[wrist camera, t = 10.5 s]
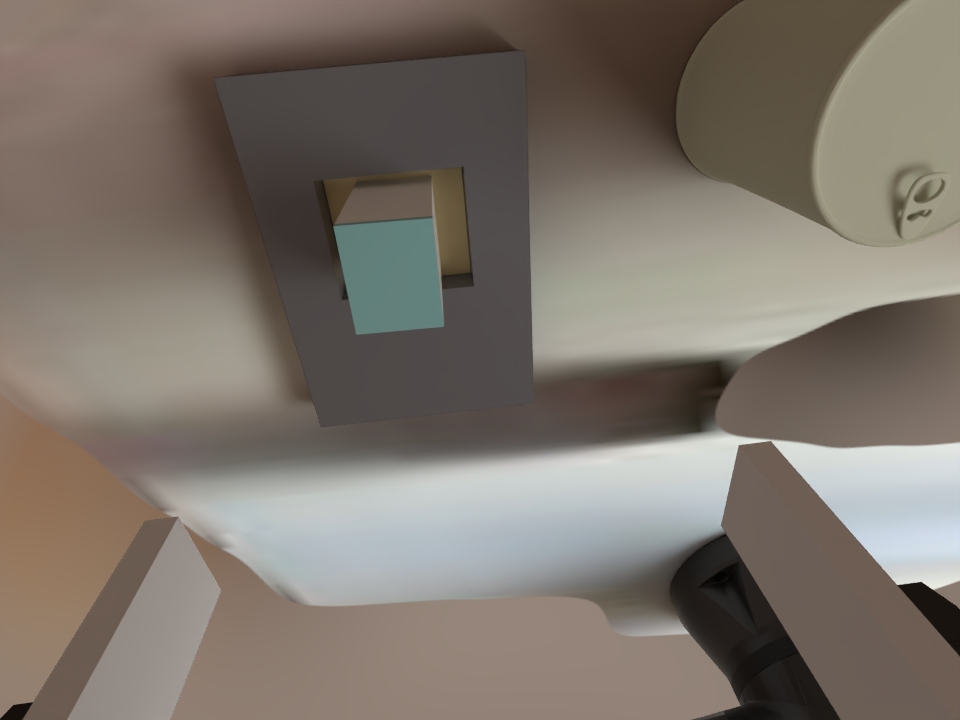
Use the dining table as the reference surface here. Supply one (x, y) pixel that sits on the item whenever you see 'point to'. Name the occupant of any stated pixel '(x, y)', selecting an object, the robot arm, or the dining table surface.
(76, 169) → the dining table surface
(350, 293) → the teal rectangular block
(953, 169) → the can
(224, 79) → the socket
